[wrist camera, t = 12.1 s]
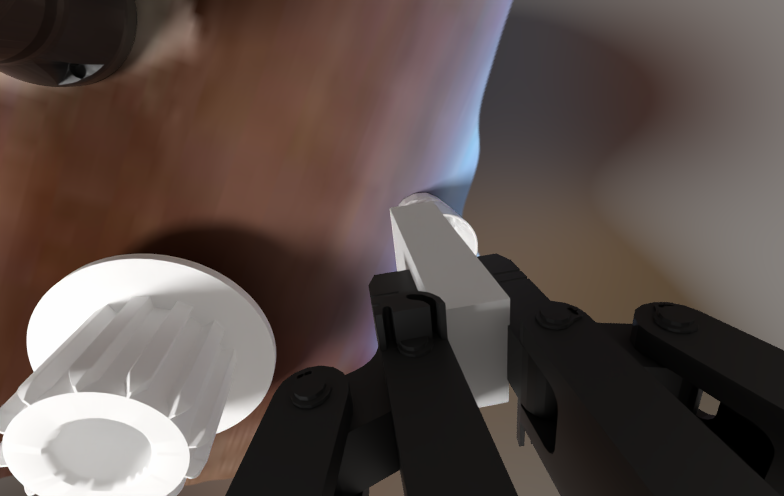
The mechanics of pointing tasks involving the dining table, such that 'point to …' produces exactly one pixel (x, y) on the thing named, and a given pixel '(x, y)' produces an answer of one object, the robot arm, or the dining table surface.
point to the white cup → (447, 217)
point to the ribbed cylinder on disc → (134, 377)
